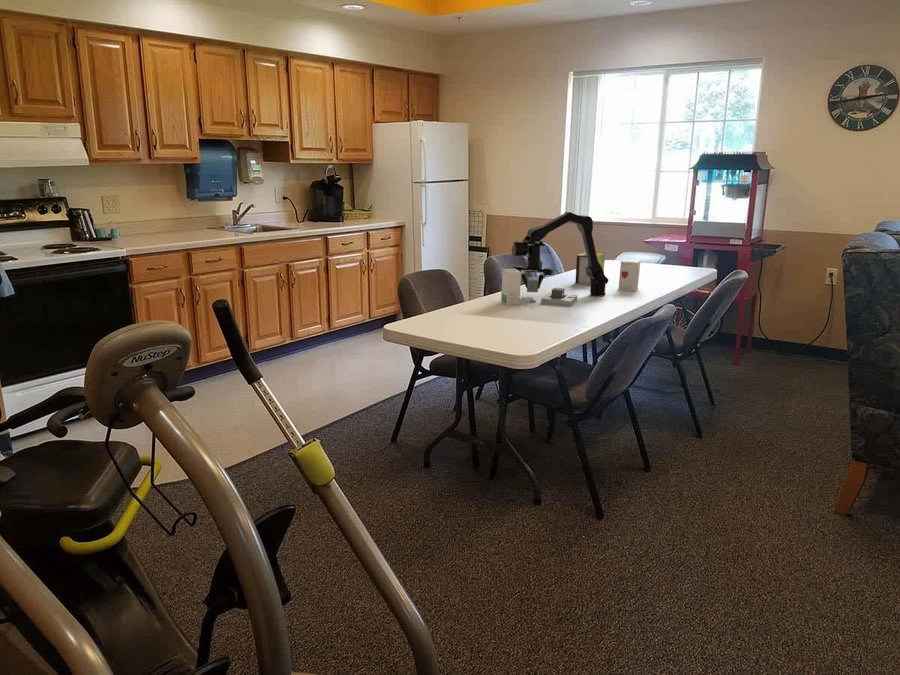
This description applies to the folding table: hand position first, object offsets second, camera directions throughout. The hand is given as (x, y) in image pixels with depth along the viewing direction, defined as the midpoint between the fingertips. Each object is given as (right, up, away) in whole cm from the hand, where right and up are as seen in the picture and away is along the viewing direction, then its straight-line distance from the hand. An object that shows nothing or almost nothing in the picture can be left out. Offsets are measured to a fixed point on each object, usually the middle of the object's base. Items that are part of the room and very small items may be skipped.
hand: (532, 288), depth 309 cm
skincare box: (-12, -8, -11) cm, 18 cm away
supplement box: (+52, +1, +23) cm, 57 cm away
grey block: (+11, -7, -6) cm, 14 cm away
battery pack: (0, -1, 0) cm, 1 cm away
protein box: (+36, +6, +41) cm, 55 cm away
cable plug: (-2, -7, -6) cm, 9 cm away
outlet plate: (+12, -7, -8) cm, 16 cm away
